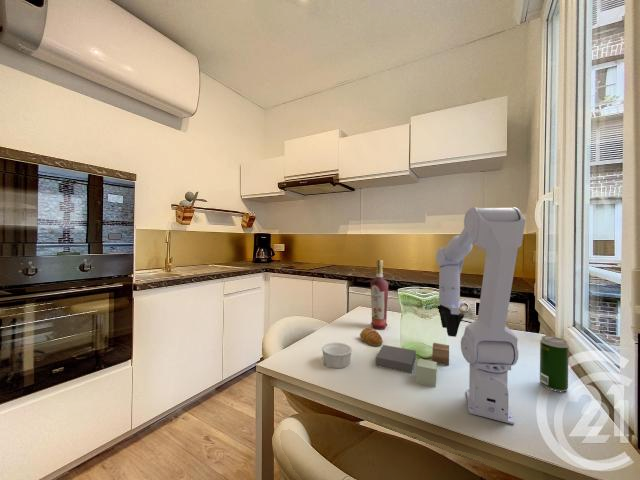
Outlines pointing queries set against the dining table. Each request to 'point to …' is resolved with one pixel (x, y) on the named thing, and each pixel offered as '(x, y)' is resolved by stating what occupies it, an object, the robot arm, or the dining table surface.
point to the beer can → (554, 363)
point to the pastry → (371, 337)
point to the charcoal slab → (396, 358)
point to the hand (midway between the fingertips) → (448, 331)
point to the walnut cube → (440, 353)
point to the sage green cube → (427, 372)
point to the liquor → (379, 298)
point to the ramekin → (336, 355)
